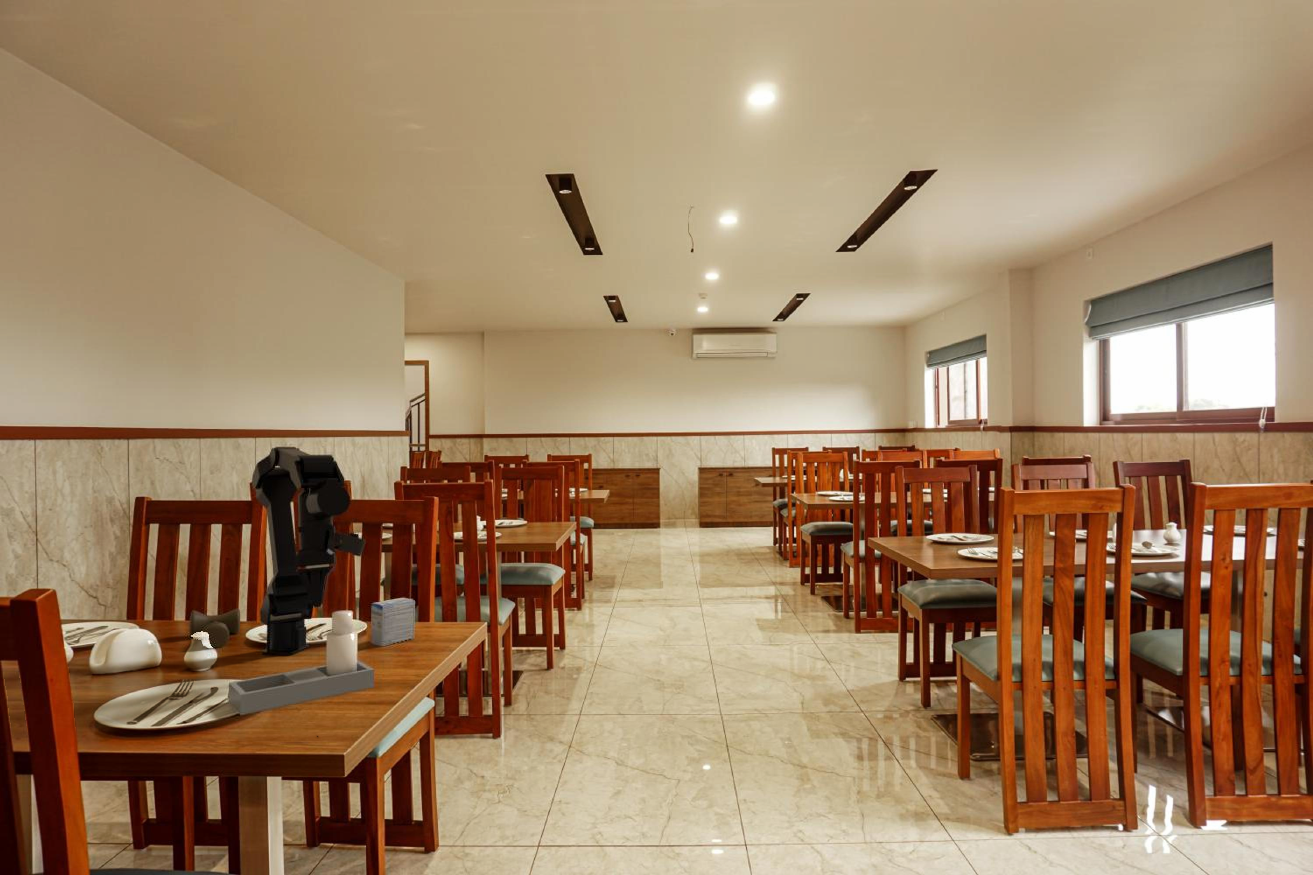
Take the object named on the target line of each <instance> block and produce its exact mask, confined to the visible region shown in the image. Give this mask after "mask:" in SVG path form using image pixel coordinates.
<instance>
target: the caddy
mask: <svg viewBox="0 0 1313 875" xmlns="http://www.w3.org/2000/svg"><path fill="white" fill-rule="evenodd" d="M373 688H375V669H374V668H373V667H371V666H369V665H368V664H365V663H364V662H362V661H361V660H359V659H357V671H356V672H350V673H345V674H340V675H335V676H329V677H328V676H326V664H324V665H320V666H314V667H309V668H302V669H298V670H292V671H286V672H281V673H276V674H275V673H274V674H270V675H264V676H259V677H253V678H247V679H242V680H236V681H231V682H228V703H229V704H230V706H231V707H233V709H234V708H235V709H236V710H237V711H238V712H239V713H238V712H237V711H236V710H235V709H234V710H235V711H236V712H237V713H238V714H239V715H240V716H243V715H244V716H245V715H249V714H253V713H258V712H262V711H263V712H264V711H267V710H273V709H278V708H282V707H283V708H284V707H287V706H291V705H297V704H301V703H307V702H312V701H315V700H316V701H317V700H320V699H325V698H330V697H335V696H339V695H344V694H349V693H354V692H358V691H364V690H368V689H373Z"/></svg>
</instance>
